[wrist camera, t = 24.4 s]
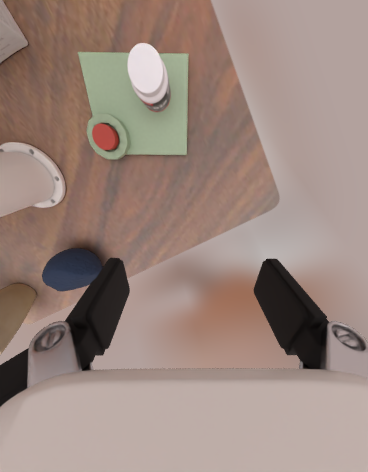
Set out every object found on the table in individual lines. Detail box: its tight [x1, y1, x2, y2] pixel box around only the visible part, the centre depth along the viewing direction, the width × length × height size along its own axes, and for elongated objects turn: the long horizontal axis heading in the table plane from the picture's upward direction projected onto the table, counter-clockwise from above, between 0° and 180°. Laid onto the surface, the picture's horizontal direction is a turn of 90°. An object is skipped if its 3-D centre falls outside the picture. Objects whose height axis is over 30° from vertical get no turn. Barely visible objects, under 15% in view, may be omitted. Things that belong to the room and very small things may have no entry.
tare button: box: [92, 123, 119, 150], centre depth 25 cm, size 4×4×2 cm
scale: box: [78, 52, 188, 159], centre depth 25 cm, size 17×14×4 cm
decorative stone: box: [42, 248, 103, 291], centre depth 38 cm, size 12×12×10 cm
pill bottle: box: [127, 43, 171, 112], centre depth 20 cm, size 5×5×8 cm
